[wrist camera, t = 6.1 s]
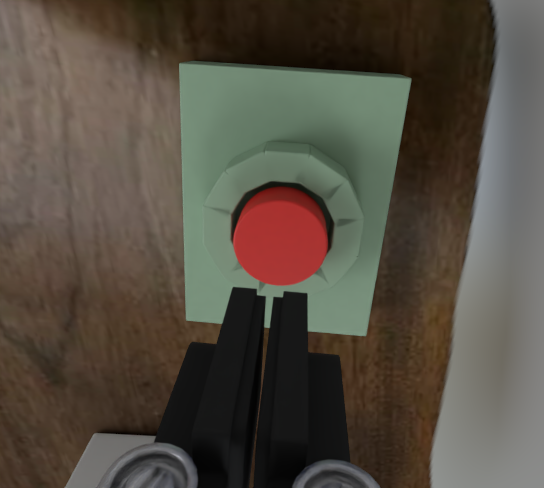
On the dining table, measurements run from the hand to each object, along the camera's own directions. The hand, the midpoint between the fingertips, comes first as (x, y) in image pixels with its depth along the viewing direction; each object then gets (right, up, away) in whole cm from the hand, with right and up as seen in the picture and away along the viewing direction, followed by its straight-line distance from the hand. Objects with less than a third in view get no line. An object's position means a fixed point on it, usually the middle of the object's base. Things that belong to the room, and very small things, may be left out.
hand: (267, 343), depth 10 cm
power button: (+1, +3, +8) cm, 9 cm away
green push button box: (+1, +4, +12) cm, 12 cm away
